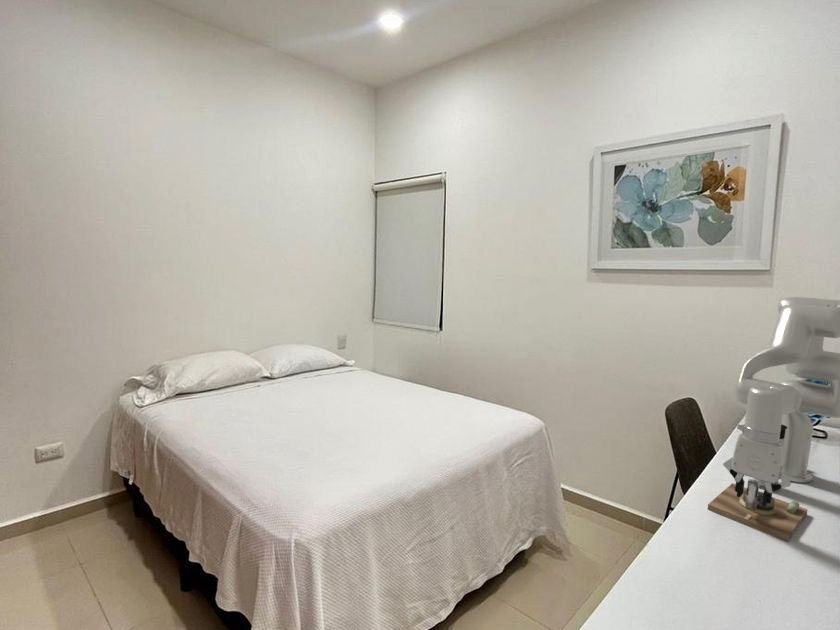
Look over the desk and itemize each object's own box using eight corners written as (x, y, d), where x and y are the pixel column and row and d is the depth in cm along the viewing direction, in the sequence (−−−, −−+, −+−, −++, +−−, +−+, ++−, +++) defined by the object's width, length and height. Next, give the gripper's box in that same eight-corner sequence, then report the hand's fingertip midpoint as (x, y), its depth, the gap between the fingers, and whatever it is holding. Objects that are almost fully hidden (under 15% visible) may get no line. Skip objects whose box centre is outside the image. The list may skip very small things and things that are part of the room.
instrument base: (731, 487, 140) (733, 477, 140) (806, 514, 126) (808, 503, 126) (707, 509, 128) (708, 498, 127) (787, 541, 114) (789, 529, 113)
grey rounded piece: (732, 508, 123) (736, 477, 122) (747, 493, 131) (751, 464, 130) (764, 520, 118) (768, 488, 117) (776, 504, 126) (781, 474, 125)
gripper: (719, 427, 122) (711, 491, 125) (799, 449, 109) (789, 519, 112) (727, 421, 127) (719, 482, 130) (806, 441, 114) (795, 508, 117)
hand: (752, 499), depth 121 cm, fingers open, 4 cm apart
